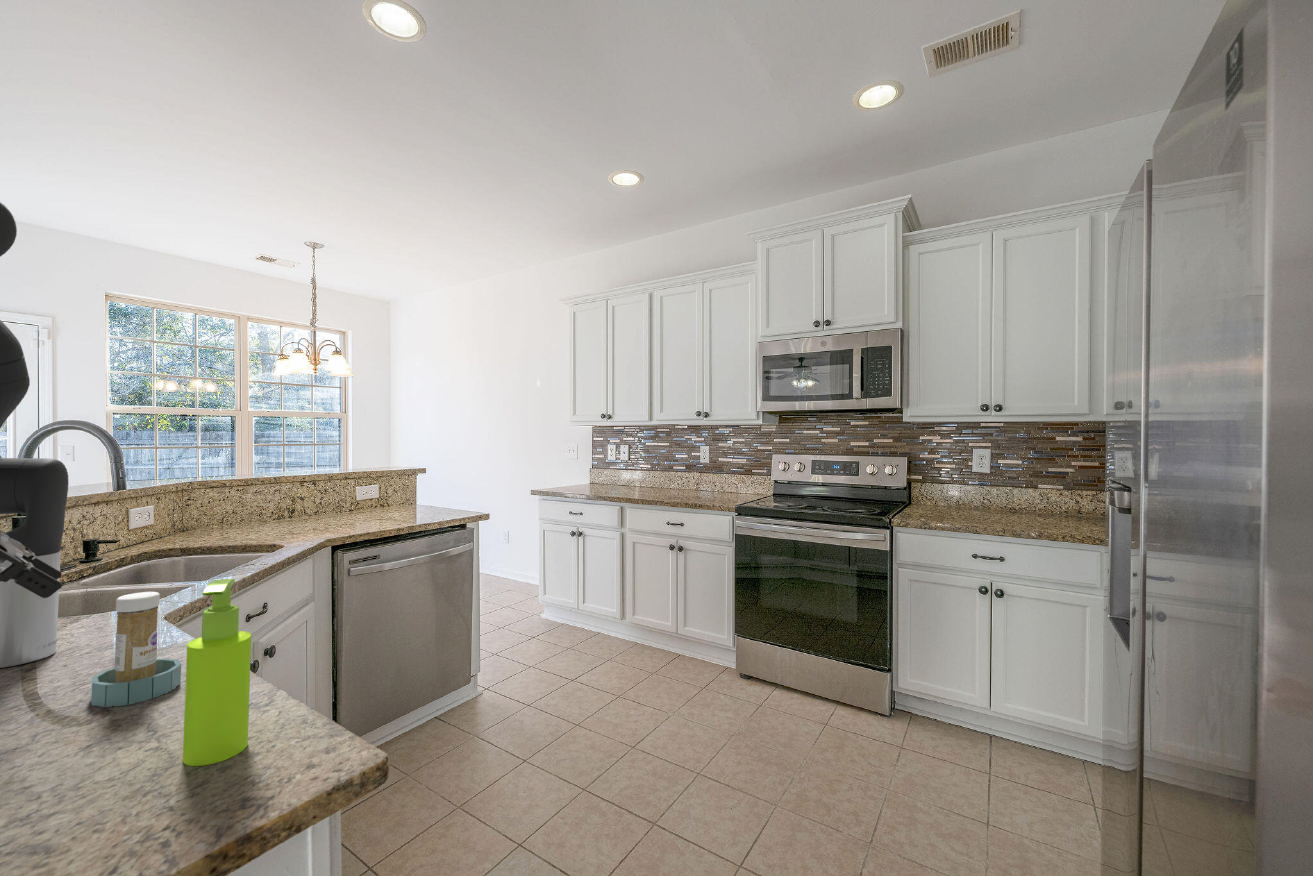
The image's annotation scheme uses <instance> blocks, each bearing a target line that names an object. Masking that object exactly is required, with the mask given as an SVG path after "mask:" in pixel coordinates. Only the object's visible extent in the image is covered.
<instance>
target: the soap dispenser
mask: <svg viewBox="0 0 1313 876" xmlns="http://www.w3.org/2000/svg"><path fill="white" fill-rule="evenodd" d="M235 581H236V579H235V578H225V579H215V580H212V581H211V582H209V583H208V584H207V585H206V586H205V588H204V589H203V591H202V596H204V597H205V596H206V597H207V596H212V598H211V599H212V602H211V606H209V607H208V608H207V609H204V610H203V611H202V619H201V622H202V623H201V637H200V636H199V637H197V638H195V639H193V640H190V641H189V642H188V643H187V645H186V663H185V664H186V666H185V687H184V689H185V692H184V716H183V718H184V721H183V744H182V745H183V746H182V762H183V764H185V765H186V766H190V767H203V766H208V765H213V764H218V763H221V762H223V761H226V760H228V759H231V758H234V756H235V757H236V756H237V755H238V754H241V753H242V752H243V751H244V750H245V749H246V747H248V744H249V743H248V742H249V714H250V713H249V712H250V687H251V686H250V685H251V655H252V654H251V653H252V633H251V632H249V631H242V630H239V629H240V628H239V627H240V606H238V605H235V604H234V603H231V599H232V586H233V585H234V584H236V583H235Z"/></svg>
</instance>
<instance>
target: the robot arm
mask: <svg viewBox="0 0 1313 876" xmlns="http://www.w3.org/2000/svg"><path fill="white" fill-rule="evenodd" d="M16 238H17V223H16V220H15V217H14V215H13V213H12V212H11V210H10V209H8V207H7V206H6V205H5V203H3V202H1V201H0V257H2V256H3V255H5V254H6V253H7V252H8V251H10V249H11V248H12V246H13V245H14V243H15V240H16ZM30 380H31V378H30V375H29V370H28V365H27V362H26V358H25V354H24V350H23V348H22V345H21V343H20V341H19V340H18V338H17V337H16V335H15V334H14V333H13V332H12V330H11V329H10V328H9V327H8V326H7V325H6V323H4V322H3V321H2V320H1V319H0V429H1V428H2V426H3V425H4V424H5V422H6V421H7V420H8V418H9V417H10V416H11V415H12V413H13V412H14V411H15V410H16V409H17V407H18V406H19V405H20V404H21V402H22V400H23V399H24V398H25V396H26V395H27V394H28V391H29V387H30V385H31V383H30ZM68 473H69V472H68V470H67V467H66V465H65V464H64V463H63V462H62V461H61V460H60V459H56V458H45V457H44V458H40V457H39V458H35V457H34V458H32V457H30V458H28V457H23V458H21V457H19V458H18V457H7V458H6V457H3V456H2V455H0V515H9V514H12V515H13V514H14V515H17V514H26V515H25V518H24V521H23V523H22V524H21V525H19V526H17V527H16V528H14V529H12V530H9V531H6V532H4V531H3V530H0V669H1V668H8V667H13V666H18V665H23V664H27V663H32V662H35V661H40V660H42V659H46V658H48V657H50V656H52V655H54V654H55V653H56V652H57V643H58V642H57V641H58V620H59V598H60V597H59V595H60V590H61V588H62V587H63V582H61V581H60V578H61V577H62V575H63V574H62V572H61V568H60V567H61V554H62V553H61V552H62V551H61V548H62V540H63V536H64V532H65V531H64V530H65V517H66V507H67V499H68V494H69V484H70V483H69V474H68Z"/></svg>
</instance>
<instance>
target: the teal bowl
mask: <svg viewBox="0 0 1313 876" xmlns="http://www.w3.org/2000/svg"><path fill="white" fill-rule="evenodd" d="M181 676H182V663H181V661H180V660H179V659H176V658H167V657H165V658H164V657H163V658H157V660H156V669H155V675H154V676H152V677H147V678H143V679H138V680H134V681H128V682H118V683H115V666H114V667H112V668H109V669H106V670H103V671H101V672H99V673H98V674H95V675H94V676H93V677H91V679H90V680H91V684H90V685H91V686H90V687H91V688H90V705H91V706H92V707H93V706H94V707H99V708H111V707H112V706H114V707H122V706H128V705H133V704H138V703H141V702H146V701H149V699H151V700H152V699H156V698H159V697H161V696H164V695H166V694H168V692H169V693H171V692H173V691H174V690H175V689H176V686H178V685H179V684H180V685H181V683H182V682H181ZM180 685H179V686H180ZM179 686H178V687H179ZM174 688H175V689H174ZM173 689H174V690H173ZM172 690H173V691H172ZM170 691H171V692H170ZM163 694H164V695H163ZM160 695H161V696H160ZM155 697H156V698H155Z"/></svg>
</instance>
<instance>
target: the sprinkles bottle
mask: <svg viewBox="0 0 1313 876" xmlns="http://www.w3.org/2000/svg"><path fill="white" fill-rule="evenodd" d="M160 597H161V594H160V593H159V592H157V591H142V592H133V593H129V594H128V593H127V594H125V595H121V596H119V597H118V598H116V600H115V601H116V603H115V611H116V614H117V619H116V620H117V621H116V632H115V647H114V648H115V650H114V651H115V652H114V667H115V683H118V682H128V681H134V680H138V679H143V678H147V677H152V676H154V675H155V669H156V660H157V659H158V658H157V655H158V609H159V605H160V601H161V598H160Z"/></svg>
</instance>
